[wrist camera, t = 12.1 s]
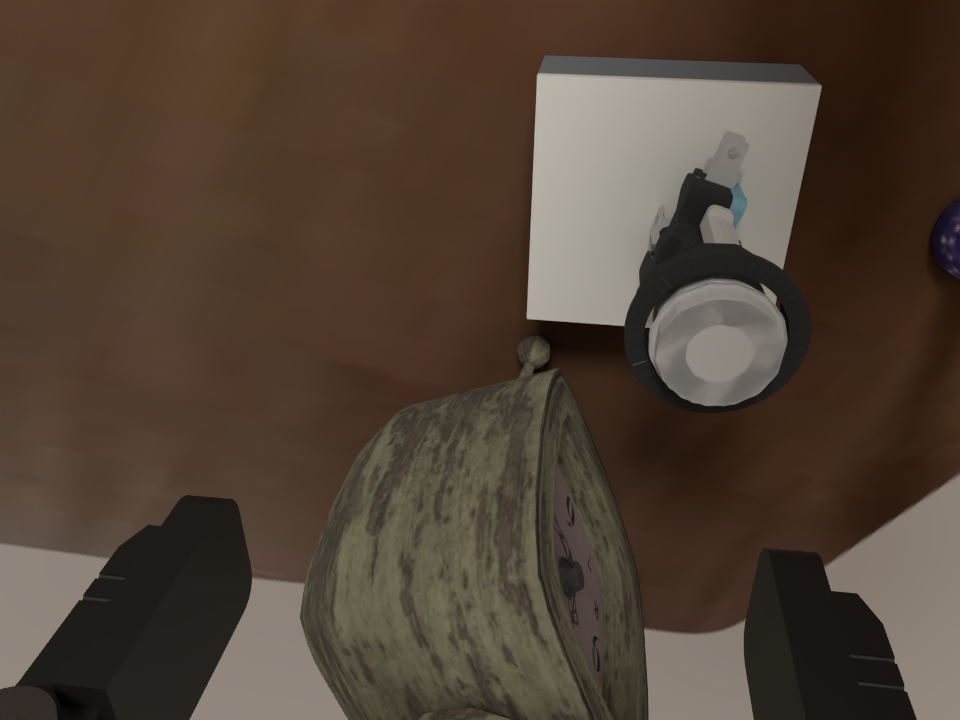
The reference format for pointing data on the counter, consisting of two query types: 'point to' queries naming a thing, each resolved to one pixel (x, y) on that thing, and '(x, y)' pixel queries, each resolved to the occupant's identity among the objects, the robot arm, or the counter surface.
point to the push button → (713, 301)
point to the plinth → (651, 167)
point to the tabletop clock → (480, 566)
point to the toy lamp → (948, 240)
